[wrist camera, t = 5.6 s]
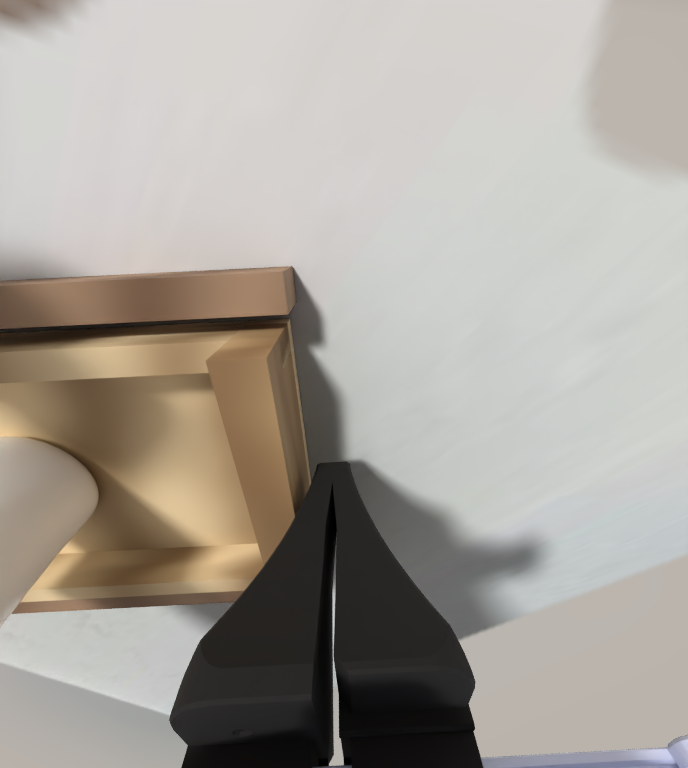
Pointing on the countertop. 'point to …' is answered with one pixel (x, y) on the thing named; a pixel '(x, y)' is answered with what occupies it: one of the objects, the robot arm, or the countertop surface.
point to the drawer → (165, 450)
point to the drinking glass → (37, 512)
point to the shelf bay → (142, 304)
